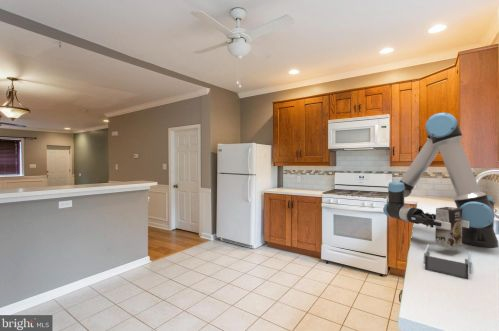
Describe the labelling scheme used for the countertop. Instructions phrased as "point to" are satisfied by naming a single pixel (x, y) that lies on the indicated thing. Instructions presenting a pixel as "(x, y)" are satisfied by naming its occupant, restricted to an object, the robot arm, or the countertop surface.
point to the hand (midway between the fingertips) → (459, 225)
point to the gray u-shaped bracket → (447, 265)
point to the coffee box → (455, 234)
